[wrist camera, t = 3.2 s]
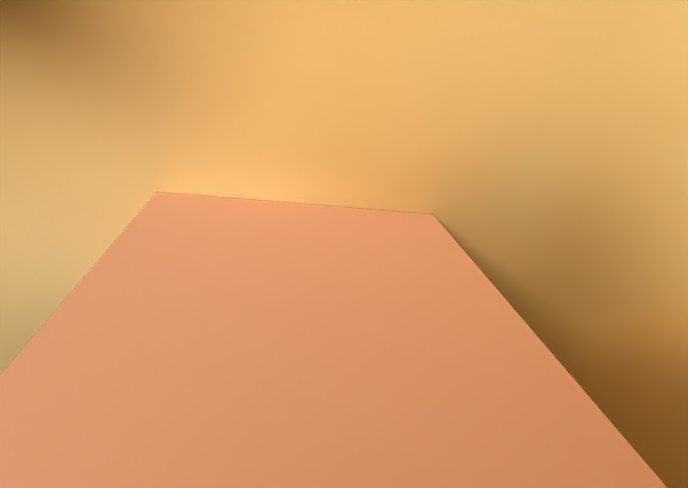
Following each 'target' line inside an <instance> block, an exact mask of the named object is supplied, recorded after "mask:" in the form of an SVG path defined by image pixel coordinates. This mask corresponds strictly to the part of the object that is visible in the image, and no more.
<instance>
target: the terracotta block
mask: <svg viewBox="0 0 688 488" xmlns="http://www.w3.org/2000/svg"><path fill="white" fill-rule="evenodd" d="M0 488H667V487H666V486H665V485H664V483H663V482H662V481H661V480H660V479H659V478H658V476H657V475H656V474H655V473H654V472H653V471H652V469H651V468H650V467H649V466H648V465H647V464H646V462H645V461H644V460H643V459H642V458H641V457H640V455H639V454H638V453H637V452H636V451H635V450H634V448H633V447H632V446H631V445H630V444H629V443H628V441H627V440H626V439H625V438H624V437H623V436H622V434H621V433H620V432H619V431H618V430H617V429H616V427H615V426H614V425H613V424H612V423H611V422H610V420H609V419H608V418H607V417H606V416H605V415H604V413H603V412H602V411H601V410H600V409H599V408H598V406H597V405H596V404H595V403H594V402H593V401H592V399H591V398H590V397H589V396H588V395H587V394H586V392H585V391H584V390H583V389H582V388H581V387H580V385H579V384H578V383H577V382H576V381H575V380H574V378H573V377H572V376H571V375H570V374H569V373H568V371H567V370H566V369H565V368H564V367H563V366H562V364H561V363H560V362H559V361H558V360H557V359H556V357H555V356H554V355H553V354H552V353H551V352H550V350H549V349H548V348H547V347H546V346H545V345H544V343H543V342H542V341H541V340H540V339H539V338H538V336H537V335H536V334H535V333H534V332H533V331H532V329H531V328H530V327H529V326H528V325H527V324H526V322H525V321H524V320H523V319H522V318H521V317H520V315H519V314H518V313H517V312H516V311H515V310H514V308H513V307H512V306H511V305H510V304H509V303H508V301H507V300H506V299H505V298H504V297H503V296H502V294H501V293H500V292H499V291H498V290H497V289H496V287H495V286H494V285H493V284H492V283H491V282H490V280H489V279H488V278H487V277H486V276H485V275H484V273H483V272H482V271H481V270H480V269H479V268H478V266H477V265H476V264H475V263H474V262H473V261H472V259H471V258H470V257H469V256H468V255H467V254H466V252H465V251H464V250H463V249H462V248H461V247H460V245H459V244H458V243H457V242H456V241H455V240H454V238H453V237H452V236H451V235H450V234H449V233H448V231H447V230H446V229H445V228H444V227H443V226H442V224H441V223H440V222H439V221H438V220H437V219H436V217H435V216H434V215H433V214H422V213H410V212H398V211H385V210H373V209H361V208H348V207H336V206H324V205H311V204H299V203H287V202H274V201H262V200H250V199H238V198H225V197H213V196H201V195H188V194H176V193H164V192H156V193H155V194H154V195H153V196H152V198H151V199H150V200H149V201H148V202H147V203H146V205H145V206H144V207H143V208H142V209H141V210H140V212H139V213H138V214H137V215H136V216H135V218H134V219H133V220H132V221H131V222H130V223H129V225H128V226H127V227H126V228H125V229H124V230H123V232H122V233H121V234H120V235H119V236H118V238H117V239H116V240H115V241H114V242H113V243H112V245H111V246H110V247H109V248H108V249H107V251H106V252H105V253H104V254H103V255H102V256H101V258H100V259H99V260H98V261H97V262H96V263H95V265H94V266H93V267H92V268H91V269H90V271H89V272H88V273H87V274H86V275H85V276H84V278H83V279H82V280H81V281H80V282H79V283H78V285H77V286H76V287H75V288H74V289H73V291H72V292H71V293H70V294H69V295H68V296H67V298H66V299H65V300H64V301H63V302H62V303H61V305H60V306H59V307H58V308H57V309H56V311H55V312H54V313H53V314H52V315H51V316H50V318H49V319H48V320H47V321H46V322H45V324H44V325H43V326H42V327H41V328H40V329H39V331H38V332H37V333H36V334H35V335H34V336H33V338H32V339H31V340H30V341H29V342H28V344H27V345H26V346H25V347H24V348H23V349H22V351H21V352H20V353H19V354H18V355H17V356H16V358H15V359H14V360H13V361H12V362H11V364H10V365H9V366H8V367H7V368H6V369H5V371H4V372H3V373H2V374H1V375H0Z"/></svg>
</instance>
